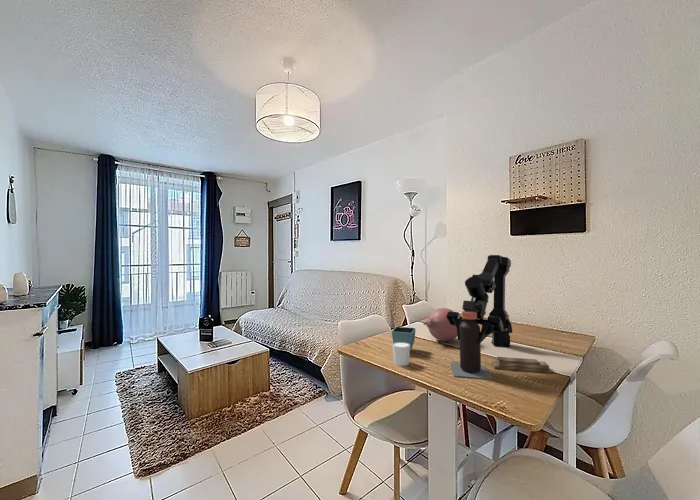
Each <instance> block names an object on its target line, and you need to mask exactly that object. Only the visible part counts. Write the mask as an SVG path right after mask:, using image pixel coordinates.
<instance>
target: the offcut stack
mask: <svg viewBox="0 0 700 500" xmlns="http://www.w3.org/2000/svg"><path fill="white" fill-rule="evenodd" d="M491 365H492V367H493V368H494V370H506V371H507V370H509V371H510V370H511V371H522V372H523V371H524V372H532V373H533V372H534V373H535V372H536V373H547V374H548V373H549V374H552V369H551V368H550V365H549V364H548V363H547V362H546V361H541V360H540V361H539V360H537V359H536V358H534V359H533V358H521V357H509V356H508V357H506V356H496V360H491Z"/></svg>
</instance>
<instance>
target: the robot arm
mask: <svg viewBox="0 0 700 500" xmlns="http://www.w3.org/2000/svg"><path fill="white" fill-rule="evenodd" d="M511 261H512V260H511V259H510V257H508V256H502V255H500V254H490V255H487V260H486V263H485V265H484V267H483V270H482V272H481V273H479V274H472V276H470V277H468V278H467V279H465V281H464V285H465V287H466V291H467V293H468V295H469V296H470V298H471V300H463V303H462V308H461V309H462V310H463V311H475V312H477V320H476V323H477V324H478V325H479V326H481V328H480V335H479V338H478V344H480V345H481V343H483V341H484V340H485V339H487V337H488V336H490V335H491V344H492V345H493V346H494V347H504V348H505V347H506V348H510V347H511V335H510V334H512V333H513V327H512V322H511V320H510V316H509V314H508V311H507V310H506V276H508V274H509V272H510V268H511V266H512V262H511ZM492 293H493V309H492V310H491V311H490V312H489V314H488V316H487V319H484V318H485V316H486V314H487V312H486V309H487V305H488V303H489V295H488V294H492ZM453 311H454V310H452V311H449V312H448V313H447V315H446V317H447V319H448V321H449V323H450V324H451V325H455V326H456V327H457V340H458V341H460V324H461V323H462V322H463V319H462V314H461V315H460V313H459V312H458V311H454V312H453Z"/></svg>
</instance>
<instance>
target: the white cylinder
mask: <svg viewBox="0 0 700 500" xmlns="http://www.w3.org/2000/svg"><path fill="white" fill-rule="evenodd" d="M391 346H392V354H393V363H394V365H395V366H396V365H397V366H399V367H404V366H405V367H406V366H408V365H409V364H410V354H411V350H410V344H408V343H404V342H397V343H393V342H392V345H391Z"/></svg>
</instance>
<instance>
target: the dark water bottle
mask: <svg viewBox="0 0 700 500" xmlns="http://www.w3.org/2000/svg"><path fill="white" fill-rule="evenodd" d="M461 316H462V319H463V322H462V323H461V324H460V340H459V363H460V367H461V369H463V370H465V371H469V372H478V371H480V370H481V365H482V361H481V359H482V357H481V352H482V351H481V343H480V344H478V338H479V335H480V332H481V327H480V326H481V325H480V324H477V323H476V320H477V312H475V311H465V310H463V311H462V310H461Z"/></svg>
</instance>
